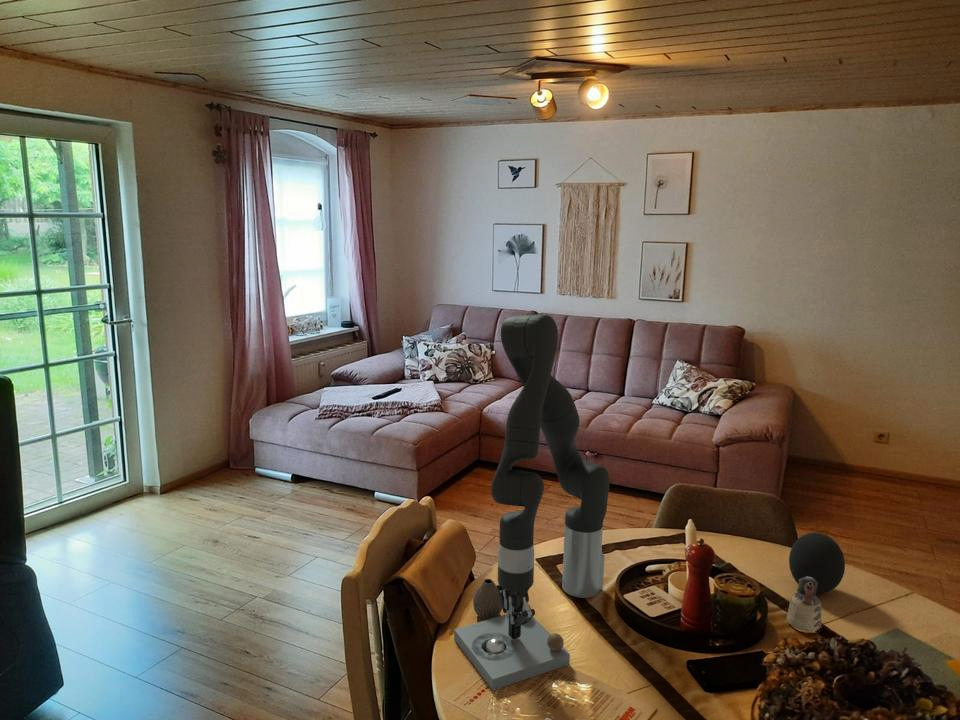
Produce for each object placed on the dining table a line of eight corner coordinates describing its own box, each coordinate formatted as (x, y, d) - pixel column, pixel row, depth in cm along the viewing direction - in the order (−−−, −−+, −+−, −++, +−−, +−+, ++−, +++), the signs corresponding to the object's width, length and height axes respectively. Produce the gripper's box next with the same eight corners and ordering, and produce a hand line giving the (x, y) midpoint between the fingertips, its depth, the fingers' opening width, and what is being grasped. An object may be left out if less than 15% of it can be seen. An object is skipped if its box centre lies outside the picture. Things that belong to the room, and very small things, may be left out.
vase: (499, 626, 152) (500, 591, 151) (470, 622, 154) (470, 587, 152) (504, 609, 159) (505, 575, 157) (476, 605, 160) (476, 571, 158)
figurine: (821, 621, 155) (827, 574, 153) (820, 638, 149) (826, 589, 147) (787, 613, 159) (793, 566, 156) (785, 628, 153) (790, 580, 150)
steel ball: (490, 631, 142) (479, 646, 143) (495, 645, 138) (485, 660, 139) (504, 636, 144) (494, 651, 144) (510, 650, 140) (500, 665, 141)
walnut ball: (557, 642, 143) (558, 628, 142) (566, 651, 140) (567, 637, 139) (543, 647, 141) (544, 632, 140) (552, 656, 138) (553, 641, 137)
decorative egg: (794, 601, 163) (801, 544, 160) (780, 575, 175) (786, 521, 172) (848, 606, 162) (856, 549, 158) (830, 579, 173) (838, 525, 170)
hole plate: (525, 618, 155) (525, 608, 155) (569, 664, 140) (569, 653, 139) (454, 639, 147) (454, 629, 147) (492, 690, 132) (492, 679, 131)
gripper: (548, 573, 136) (545, 649, 139) (516, 544, 147) (514, 615, 151) (515, 582, 132) (514, 659, 136) (485, 552, 144) (484, 624, 148)
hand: (514, 636), depth 144 cm, fingers closed
